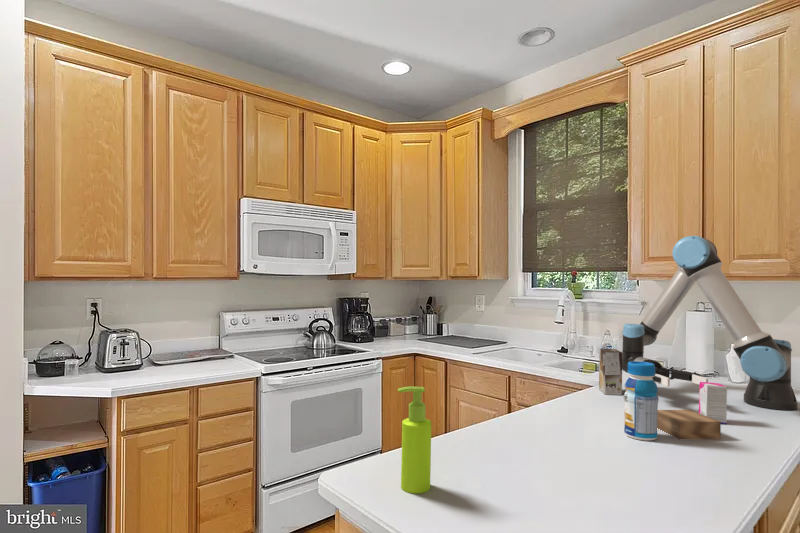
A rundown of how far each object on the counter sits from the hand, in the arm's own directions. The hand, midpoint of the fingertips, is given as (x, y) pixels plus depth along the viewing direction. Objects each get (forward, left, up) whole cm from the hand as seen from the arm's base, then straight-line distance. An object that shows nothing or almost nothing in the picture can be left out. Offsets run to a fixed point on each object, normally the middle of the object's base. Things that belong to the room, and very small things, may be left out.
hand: (688, 382), depth 159 cm
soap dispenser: (+88, +67, -10) cm, 111 cm away
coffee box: (+16, -25, -10) cm, 31 cm away
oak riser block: (+12, +22, -10) cm, 27 cm away
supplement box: (-2, +10, -10) cm, 14 cm away
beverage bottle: (+27, +28, -10) cm, 40 cm away
